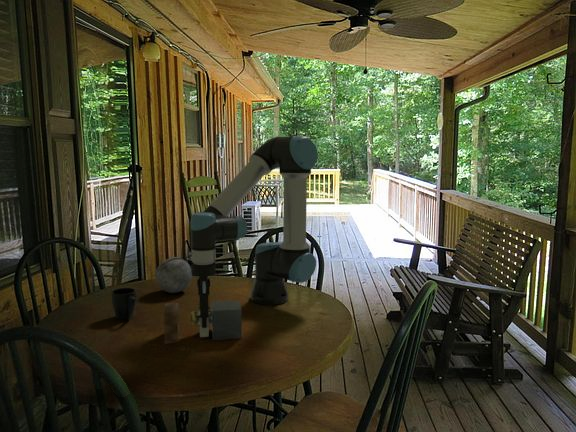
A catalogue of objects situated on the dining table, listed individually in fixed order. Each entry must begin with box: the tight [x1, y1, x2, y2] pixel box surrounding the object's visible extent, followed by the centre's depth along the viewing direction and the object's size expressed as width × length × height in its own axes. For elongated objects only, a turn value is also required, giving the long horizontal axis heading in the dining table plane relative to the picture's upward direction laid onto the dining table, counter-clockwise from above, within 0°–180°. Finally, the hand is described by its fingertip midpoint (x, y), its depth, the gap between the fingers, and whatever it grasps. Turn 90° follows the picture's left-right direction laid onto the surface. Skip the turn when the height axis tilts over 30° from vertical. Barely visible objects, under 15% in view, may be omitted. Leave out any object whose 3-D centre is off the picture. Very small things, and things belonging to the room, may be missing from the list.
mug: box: [110, 287, 137, 321], centre depth 156 cm, size 8×12×10 cm
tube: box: [190, 309, 212, 325], centre depth 143 cm, size 14×5×5 cm, turn 102°
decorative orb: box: [154, 256, 193, 294], centre depth 187 cm, size 15×14×15 cm
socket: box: [163, 302, 180, 344], centre depth 140 cm, size 4×9×10 cm, turn 12°
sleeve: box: [210, 299, 242, 341], centre depth 144 cm, size 9×9×10 cm
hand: (204, 332), depth 143 cm, fingers closed on tube, 5 cm apart
